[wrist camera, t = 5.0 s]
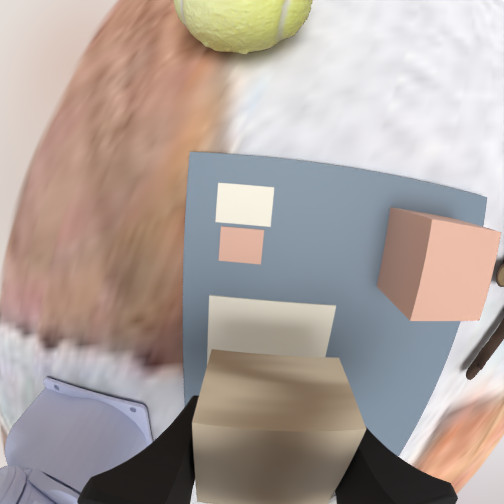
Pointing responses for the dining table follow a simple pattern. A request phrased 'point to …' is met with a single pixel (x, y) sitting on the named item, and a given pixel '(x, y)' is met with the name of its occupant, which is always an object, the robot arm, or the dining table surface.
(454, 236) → the terracotta block
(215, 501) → the maple block
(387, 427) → the board
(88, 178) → the dining table surface
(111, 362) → the dining table surface
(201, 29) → the tennis ball
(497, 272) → the bear figurine
